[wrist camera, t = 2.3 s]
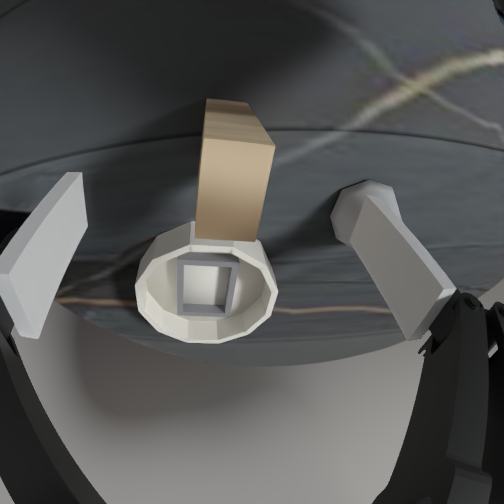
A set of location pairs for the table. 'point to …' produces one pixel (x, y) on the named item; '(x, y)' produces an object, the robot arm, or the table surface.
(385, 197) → the flask
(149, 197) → the table surface
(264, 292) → the white round dish
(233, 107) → the wooden block
